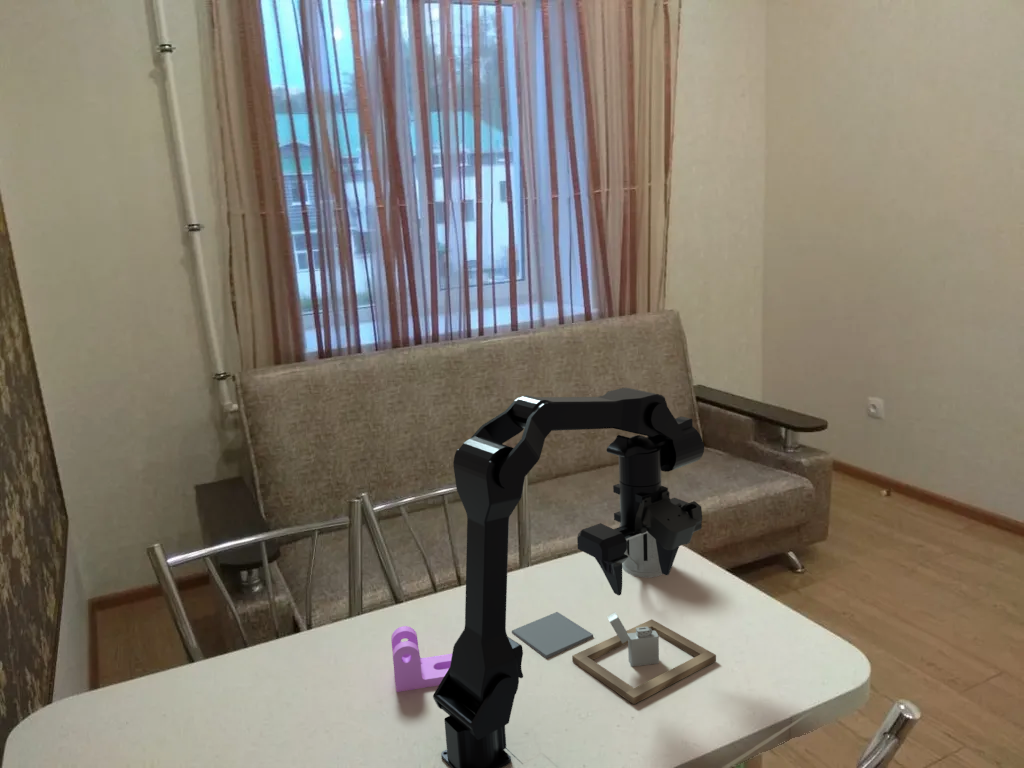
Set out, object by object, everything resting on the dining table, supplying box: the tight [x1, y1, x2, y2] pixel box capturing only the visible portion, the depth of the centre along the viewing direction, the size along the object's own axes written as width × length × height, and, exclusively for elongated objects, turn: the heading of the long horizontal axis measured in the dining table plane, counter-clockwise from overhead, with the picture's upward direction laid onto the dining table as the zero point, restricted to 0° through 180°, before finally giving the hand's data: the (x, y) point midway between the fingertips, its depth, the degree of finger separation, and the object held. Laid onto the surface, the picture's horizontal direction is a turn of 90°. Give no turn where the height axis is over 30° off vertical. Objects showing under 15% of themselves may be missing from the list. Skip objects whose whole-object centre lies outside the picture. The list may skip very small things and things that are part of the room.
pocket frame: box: [571, 618, 717, 705], centre depth 116 cm, size 16×13×1 cm
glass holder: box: [618, 522, 664, 579], centre depth 140 cm, size 9×14×15 cm, turn 148°
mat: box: [511, 611, 594, 659], centre depth 124 cm, size 9×9×1 cm
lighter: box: [606, 611, 660, 667], centre depth 115 cm, size 7×2×8 cm, turn 96°
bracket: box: [391, 625, 452, 693], centre depth 115 cm, size 13×6×7 cm, turn 101°
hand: (642, 584), depth 113 cm, fingers open, 9 cm apart
